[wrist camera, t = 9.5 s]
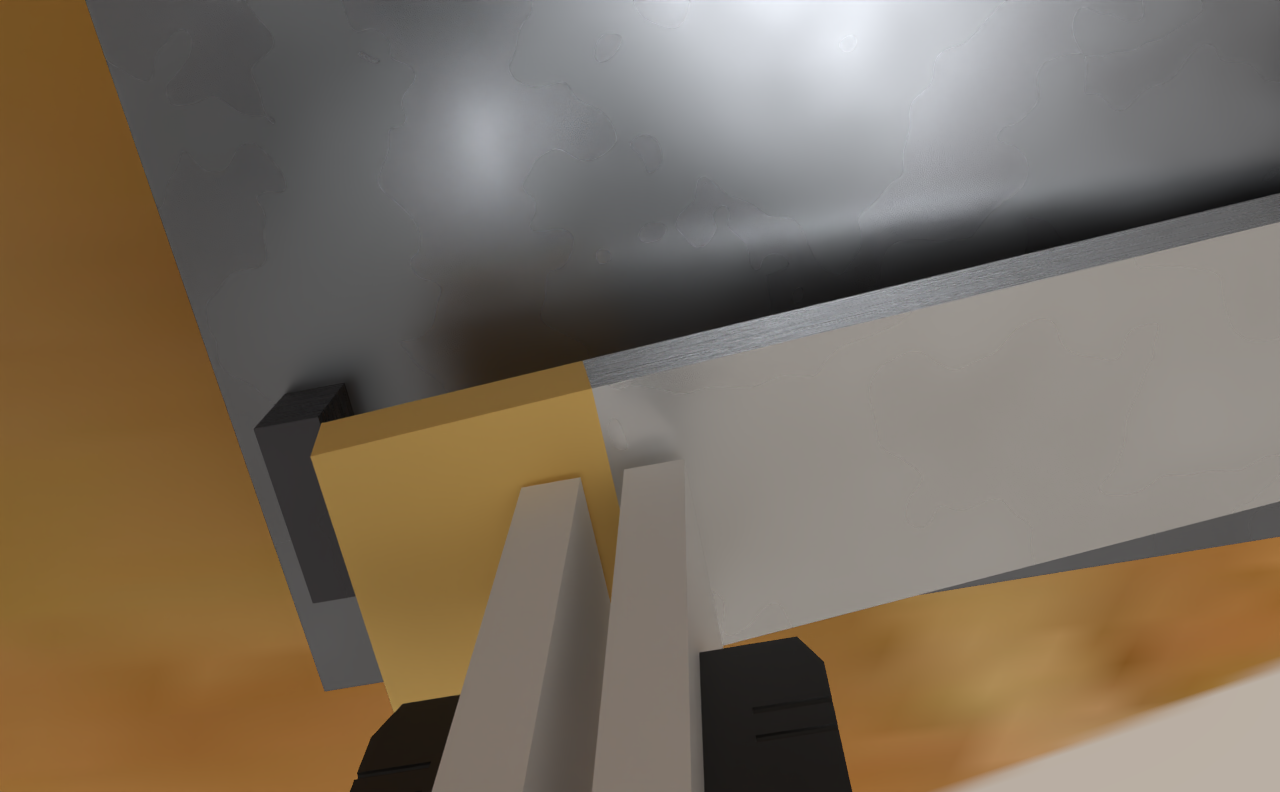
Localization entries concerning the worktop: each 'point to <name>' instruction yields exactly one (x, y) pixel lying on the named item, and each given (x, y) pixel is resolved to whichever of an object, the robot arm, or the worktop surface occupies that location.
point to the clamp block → (638, 188)
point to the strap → (848, 439)
